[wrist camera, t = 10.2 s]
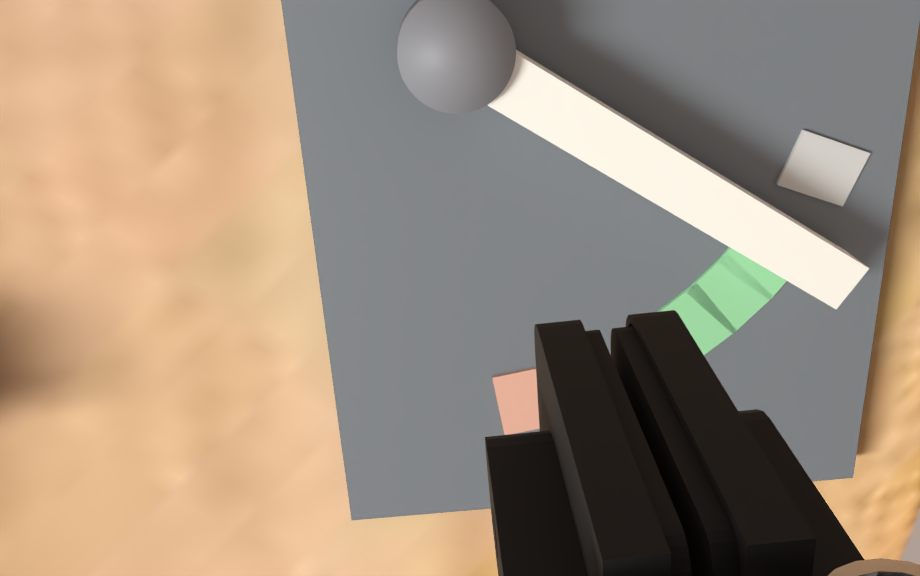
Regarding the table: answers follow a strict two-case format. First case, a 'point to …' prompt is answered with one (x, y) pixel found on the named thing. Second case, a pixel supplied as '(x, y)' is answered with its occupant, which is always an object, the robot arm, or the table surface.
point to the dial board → (589, 221)
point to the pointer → (605, 140)
